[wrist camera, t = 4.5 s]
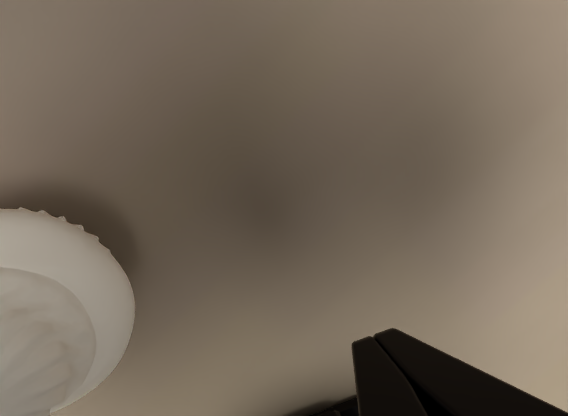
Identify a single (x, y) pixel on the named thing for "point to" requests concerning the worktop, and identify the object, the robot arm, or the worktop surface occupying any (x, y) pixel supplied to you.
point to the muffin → (57, 312)
